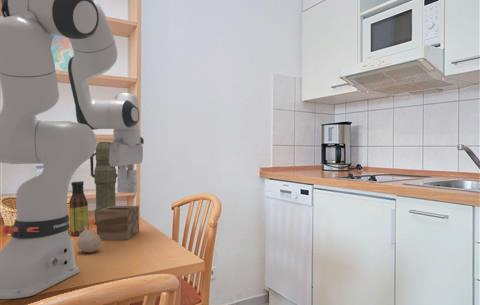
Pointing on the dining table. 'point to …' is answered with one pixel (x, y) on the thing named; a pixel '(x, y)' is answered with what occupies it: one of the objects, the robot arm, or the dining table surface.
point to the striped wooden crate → (117, 222)
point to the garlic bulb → (88, 241)
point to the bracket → (127, 182)
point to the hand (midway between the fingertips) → (127, 177)
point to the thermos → (103, 177)
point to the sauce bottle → (78, 209)
